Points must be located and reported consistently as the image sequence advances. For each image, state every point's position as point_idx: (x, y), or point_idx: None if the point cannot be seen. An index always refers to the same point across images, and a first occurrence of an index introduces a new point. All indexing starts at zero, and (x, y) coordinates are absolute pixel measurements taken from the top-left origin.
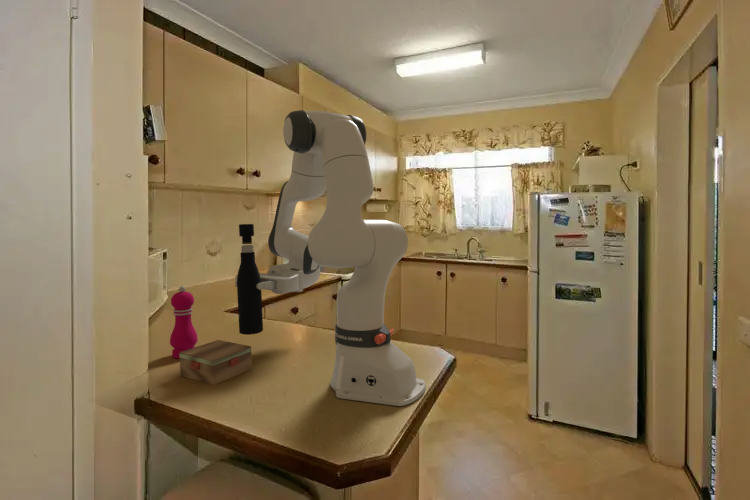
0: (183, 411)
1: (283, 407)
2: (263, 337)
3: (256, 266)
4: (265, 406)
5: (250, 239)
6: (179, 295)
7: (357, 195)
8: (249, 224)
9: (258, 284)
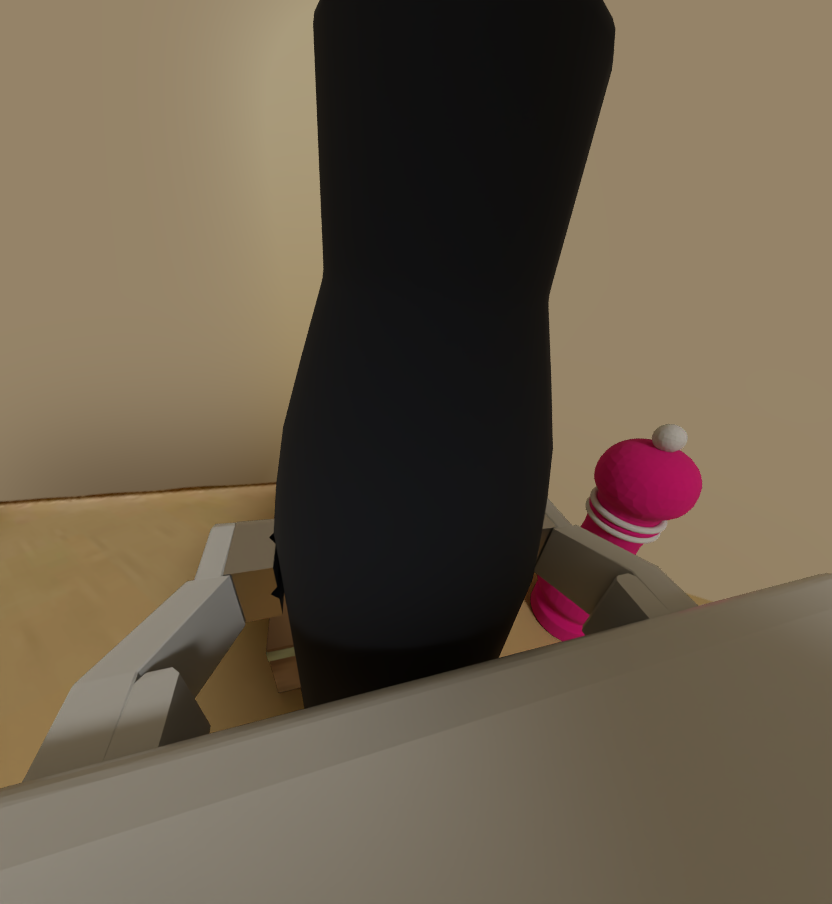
0: (247, 485)
1: (10, 584)
2: None
3: (325, 374)
4: (73, 563)
5: None
6: (622, 442)
7: None
8: None
9: (231, 524)
